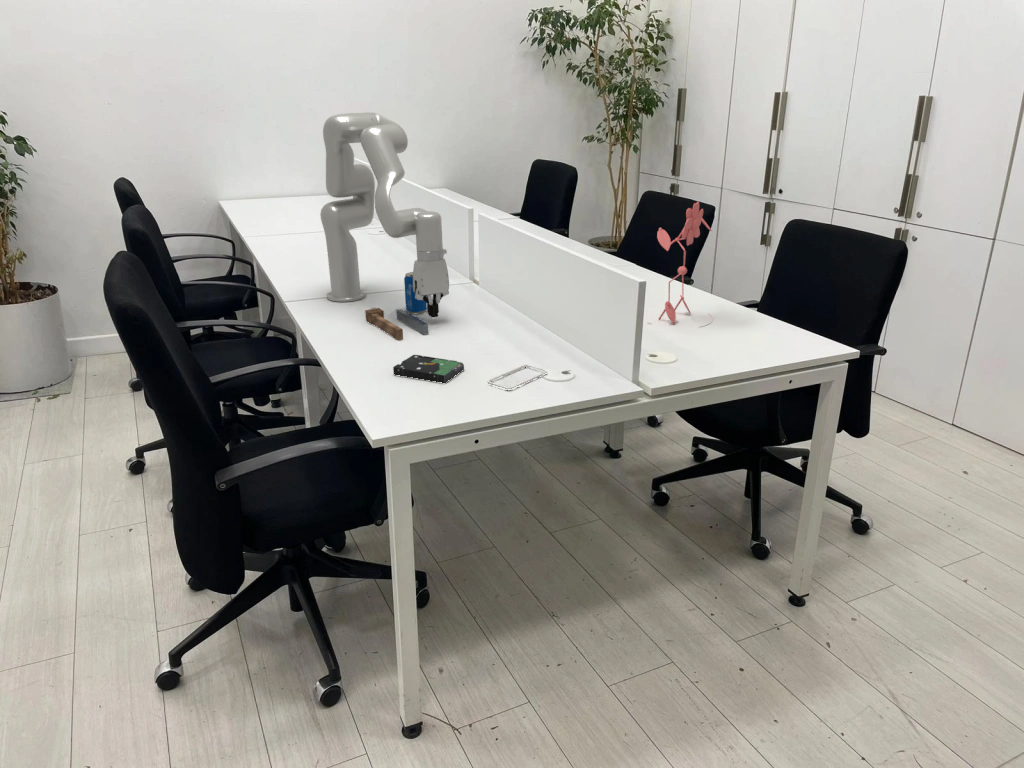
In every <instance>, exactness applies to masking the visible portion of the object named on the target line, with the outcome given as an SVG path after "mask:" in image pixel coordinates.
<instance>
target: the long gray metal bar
mask: <svg viewBox="0 0 1024 768" xmlns="http://www.w3.org/2000/svg"><path fill="white" fill-rule="evenodd" d="M395 310H396V311H395V312H396V320H398V321H399V322H401V323H403V324H404V325H406V326H408V327H410V328H412V329H413V330H415V331H417V332H419V333H420V334H421V335H428V334H429V323H428V322H426V321H424V320H422V319H421V318H419V317H417V316H415V315H414V314H412V313H409V312H408V311H407V310H404V309H403V308H398V309H395Z"/></svg>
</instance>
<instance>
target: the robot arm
mask: <svg viewBox="0 0 1024 768" xmlns="http://www.w3.org/2000/svg"><path fill="white" fill-rule="evenodd" d="M322 135H323V136H322V138H323V142H324V143H323V144H324V147H325V148H324V149H325V187H326V191H327V194H328V195H329V196H331V197H333V198H339V200H333V201H329V202H327V203H326V204H324V205H323V207H322V208H321V209H320V220H321V221H320V222H321V224H322V228H323V231H324V236H325V242H326V244H325V245H326V251H327V258H328V259H327V261H328V270H329V281H330V289H331V290H330V292H327V293H326V294H327V295H326V298H327V299H328V300H329V301H332V302H338V303H339V302H340V303H341V302H343V303H345V302H354V301H359V300H362V299H364V298H366V292H365V291H364V290H362V289H361V282H360V269H359V257H358V256H359V255H358V247H357V245H358V244H357V241H356V239H355V238H354V237H353V235H352V234H351V232H350V231H352V230H354V229H360V228H365V227H368V226H369V225H370V224H372V222H373V219H374V215H375V212H376V215H377V218H378V220H379V223H380V224H381V226H382V227H381V228H383V230H384V232H385V234H387V235H388V236H389V237H391V238H393V239H399V238H400V239H401V238H405V237H409V236H415V242H416V243H415V245H416V258H417V259H416V260H414V263H413V271H412V272H413V291H414V292H415V293H416V294H415V298H416V299H417V300H424V301H425V302H426V303H427V310H426V311H427V312H426V313H427V315H428V316H429V317H430V318H437V317H439V313H440V308H439V305H440V302H441V300H442V299H443V297H446V296H448V295H449V294H450V292H449V291H450V290H449V289H450V279H449V278H450V277H449V270H448V265H447V262H446V259H445V258H444V255H445V254H448V253H447V250H446V249H445V248H444V247H443V246H444V245H443V230H442V229H443V228H442V227H443V226H442V216H441V214H440V213H439V212H437V211H432V210H431V211H429V210H426V209H424V208H420V207H414V208H413V207H412V208H408V209H407V208H406V209H400V210H395V207H394V205H393V203H392V199H391V189H392V187H394V186H395V185H397V183H399V182H400V181H401V180H403V178H404V177H405V173H406V172H405V169H404V167H403V164H402V162H401V161H400V158H399V155H398V154H401V153H404V152H405V151H406V150H407V148H408V143H409V142H408V141H409V140H408V135H407V133H406V132H405V129H403V127H401V125H399V124H398V123H396V122H394V121H393V120H391V119H388V118H387V117H385V116H383V115H381V114H379V113H376V112H356V113H355V112H347V113H340V114H333V115H331V116H329V117H328V118H327V119H326V120H325V121H324V124H323V126H322ZM358 143H360V145H361V147H362V150H363V151H364V154H365V156H366V159H367V161H368V163H369V166H370V167H368V166H367V165H365V164H361V163H359V164H358V163H357V164H355V154H354V150H353V148H352V145H350V144H358ZM370 168H371V169H370ZM375 179H376V181H377V186H376V183H375ZM348 197H350V198H348ZM351 197H352V198H351ZM341 198H344V199H341ZM345 198H347V199H345ZM374 211H375V212H374Z"/></svg>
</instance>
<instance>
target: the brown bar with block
mask: <svg viewBox="0 0 1024 768" xmlns="http://www.w3.org/2000/svg"><path fill="white" fill-rule="evenodd" d="M364 312H365V322H366V321H367V323H368V322H369V323H368V324H370V325H373V326H374V325H375V327H376V326H377V329H379V328H380V329H379V330H381V331H382V330H383V332H384V331H385V332H384V333H385V334H387V333H388V334H387V335H389V336H390V337H392V338H394V339H395V340H397V341H401V340H404V331H403V328H402V327H400V326H398V325H396V324H394V323H393V322H392V321H390V320H388V319H387V318H385V312H384V310H383V309H381V308H380V307H372V308H370V309H365V311H364Z"/></svg>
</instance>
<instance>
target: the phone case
mask: <svg viewBox="0 0 1024 768" xmlns="http://www.w3.org/2000/svg"><path fill="white" fill-rule="evenodd" d="M525 367H527V368H525ZM522 368H524V369H528V368H529V369H530V368H533V369H536V370H539V371H542V372H541V373H539V374H536V375H534V376H532V377H529V378H528V379H526V380H524V381H521V382H518V383H517V384H514V385H512V386H509V387H507V386H505V385H501V384H499V383H496V382H495V383H494V382H493V381H495V380H497V379H499V378H505V377H504V376H506V375H508V374H510V375H512V374H514V373H513V372H515V371H517V372H519V371H521V370H520V369H522ZM518 370H519V371H518ZM522 370H523V369H522ZM511 373H512V374H511ZM515 373H516V372H515ZM545 373H547V374H548V370H546V369H544V368H541V367H537V366H533V365H529V364H523V365H520V366H518V367H516V368H514V369H511V370H509V371H506V372H504V373H502V374H500V375H497V376H494V377H493V378H490V379H488V380H487V381H486V384H487V383H488V384H491V385H495V386H498V387H502V388H505V389H512V388H514V387H516V386H519V385H522V384H524V383H526V382H528V381H531V380H533V379H535V378H538V377H540V376H542V375H543V374H545ZM502 376H503V377H502ZM508 376H509V375H508ZM506 377H507V376H506ZM538 379H539V378H538ZM491 381H492V382H491Z"/></svg>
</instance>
